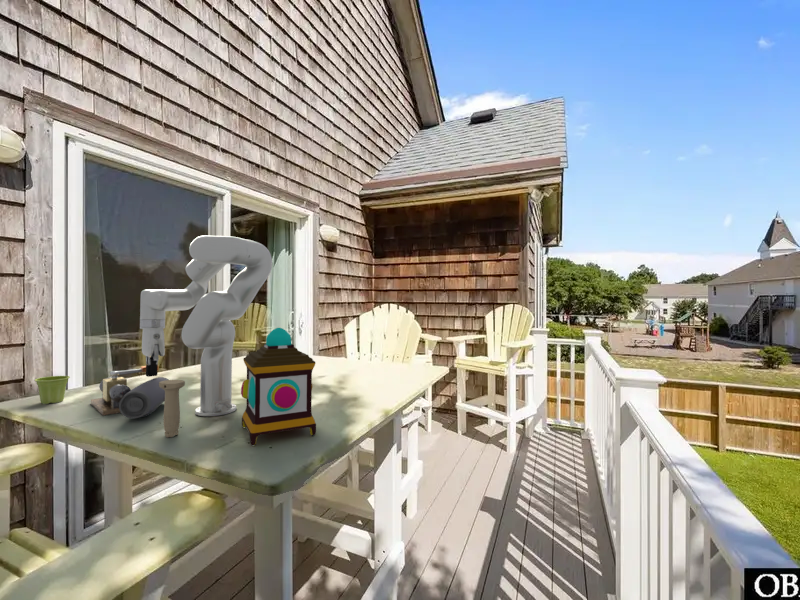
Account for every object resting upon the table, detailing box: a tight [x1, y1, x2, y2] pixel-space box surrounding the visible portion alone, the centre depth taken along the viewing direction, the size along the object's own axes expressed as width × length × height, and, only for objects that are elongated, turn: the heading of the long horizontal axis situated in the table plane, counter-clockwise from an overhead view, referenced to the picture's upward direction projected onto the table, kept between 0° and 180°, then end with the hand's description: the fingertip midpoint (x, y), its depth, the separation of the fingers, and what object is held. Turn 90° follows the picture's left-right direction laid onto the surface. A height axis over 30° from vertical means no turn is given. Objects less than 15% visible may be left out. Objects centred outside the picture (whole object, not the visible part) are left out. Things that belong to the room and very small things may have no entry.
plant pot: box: [34, 375, 71, 405], centre depth 139 cm, size 9×9×9 cm
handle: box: [159, 379, 186, 438], centre depth 106 cm, size 5×6×15 cm
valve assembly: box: [90, 375, 132, 416], centre depth 135 cm, size 20×12×11 cm, turn 48°
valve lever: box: [109, 365, 146, 377], centre depth 139 cm, size 14×3×2 cm, turn 138°
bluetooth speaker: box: [119, 376, 170, 419], centre depth 128 cm, size 23×9×10 cm, turn 15°
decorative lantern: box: [240, 327, 317, 446], centre depth 110 cm, size 20×20×30 cm
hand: (151, 375), depth 136 cm, fingers closed
